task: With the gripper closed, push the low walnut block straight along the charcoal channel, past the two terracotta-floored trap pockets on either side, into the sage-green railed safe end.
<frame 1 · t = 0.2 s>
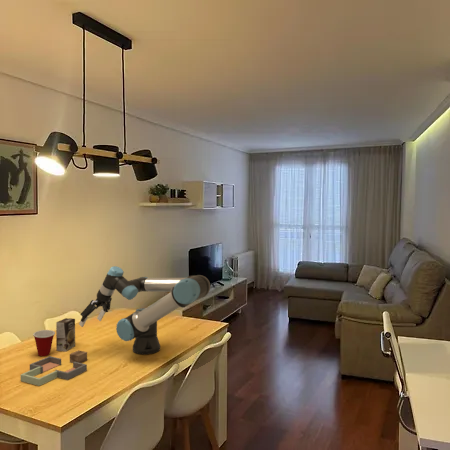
hand: (90, 322, 220), 16 cm above the table, tool tilted 30°, fingers open, 13 cm apart
walnut block: (78, 361, 205), on the table
plastic cup: (44, 355, 214), on the table
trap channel: (58, 370, 193), on the table
coffee box: (66, 348, 223), on the table
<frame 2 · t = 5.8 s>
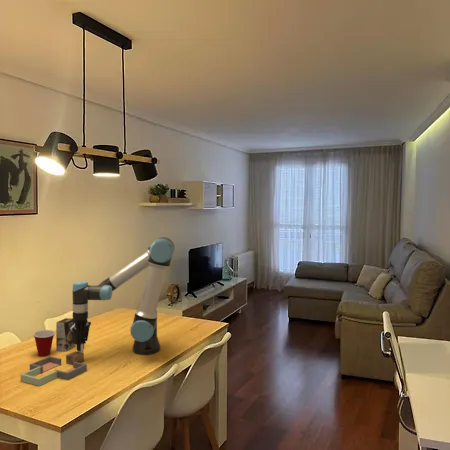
hand: (80, 356, 206), 2 cm above the table, tool pointing down, fingers closed
walnut block: (75, 362, 203), on the table, touching gripper
everything else where it was.
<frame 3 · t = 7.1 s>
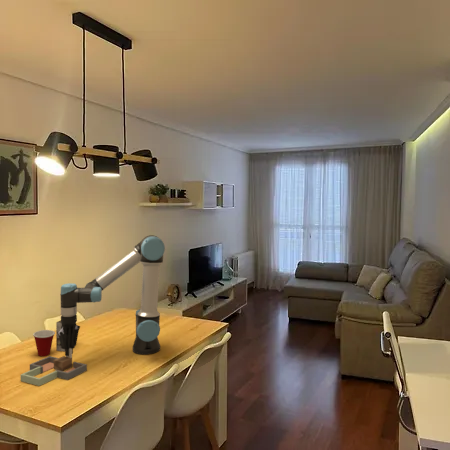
hand: (69, 361, 199), 2 cm above the table, tool pointing down, fingers closed
walnut block: (63, 368, 196), on the table, touching gripper
everything else where it was.
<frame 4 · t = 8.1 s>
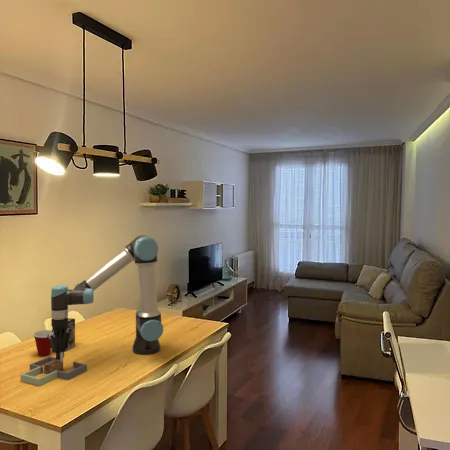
hand: (60, 365, 194), 2 cm above the table, tool pointing down, fingers closed
walnut block: (53, 372, 191), on the table, touching gripper
everything else where it was.
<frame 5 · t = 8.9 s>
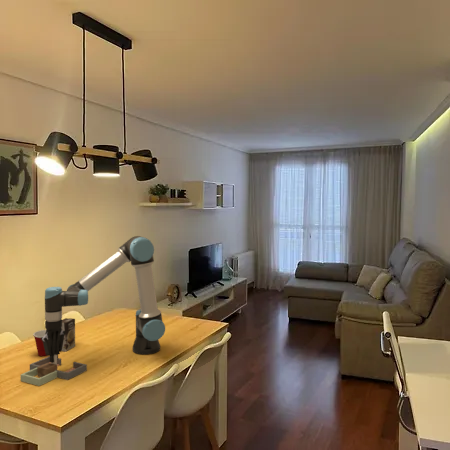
hand: (54, 368, 191), 2 cm above the table, tool pointing down, fingers closed
walnut block: (47, 375, 188), on the table, touching gripper
everything else where it was.
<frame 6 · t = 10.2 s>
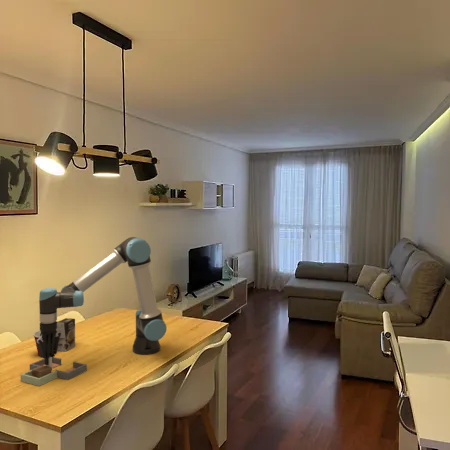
hand: (48, 370, 188), 2 cm above the table, tool pointing down, fingers closed
walnut block: (41, 377, 185), on the table
everything else where it was.
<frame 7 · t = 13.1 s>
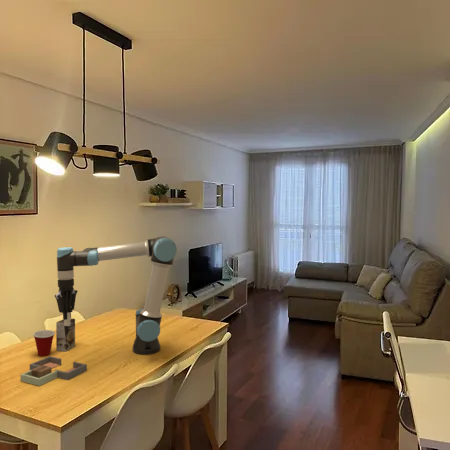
hand: (67, 325, 198), 20 cm above the table, tool pointing down, fingers closed
nothing on the table moved.
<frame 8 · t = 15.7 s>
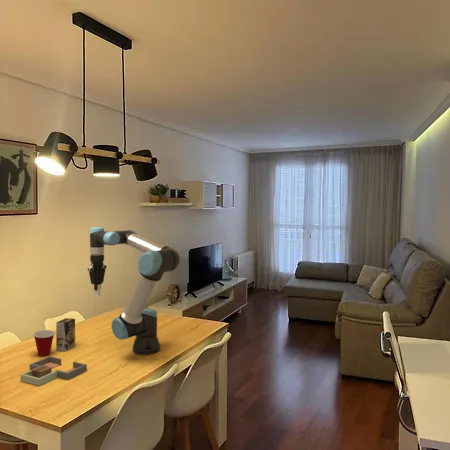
hand: (97, 295, 225), 29 cm above the table, tool pointing down, fingers closed
nothing on the table moved.
at the end: walnut block inside the target area (1.6 cm from its centre), on the table; walnut block tilted 0° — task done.
